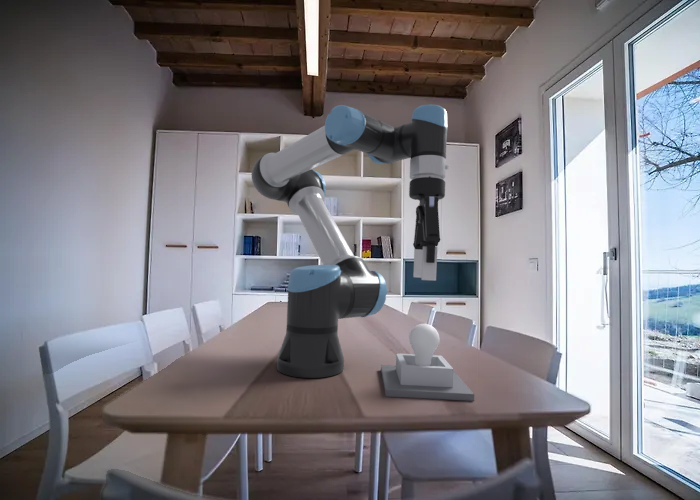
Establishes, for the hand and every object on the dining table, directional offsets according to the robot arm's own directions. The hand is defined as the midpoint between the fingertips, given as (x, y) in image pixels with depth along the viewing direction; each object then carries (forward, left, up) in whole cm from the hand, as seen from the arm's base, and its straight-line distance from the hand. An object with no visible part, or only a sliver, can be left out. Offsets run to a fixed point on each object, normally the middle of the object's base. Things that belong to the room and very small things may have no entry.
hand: (423, 279), depth 75 cm
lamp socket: (0, -2, -21) cm, 21 cm away
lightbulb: (0, -2, -20) cm, 20 cm away
